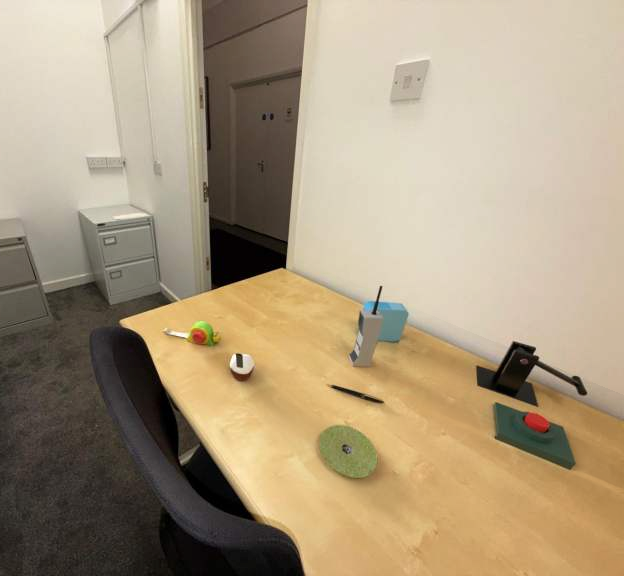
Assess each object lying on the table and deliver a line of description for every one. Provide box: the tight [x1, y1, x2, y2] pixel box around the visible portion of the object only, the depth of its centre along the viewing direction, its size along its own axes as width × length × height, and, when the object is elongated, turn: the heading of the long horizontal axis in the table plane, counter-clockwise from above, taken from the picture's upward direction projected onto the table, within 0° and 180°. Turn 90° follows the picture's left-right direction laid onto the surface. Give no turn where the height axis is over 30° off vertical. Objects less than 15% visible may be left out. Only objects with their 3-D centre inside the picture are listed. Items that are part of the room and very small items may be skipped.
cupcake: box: [229, 352, 255, 381], centre depth 77 cm, size 10×6×12 cm, turn 147°
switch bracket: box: [475, 340, 540, 408], centre depth 75 cm, size 12×9×13 cm
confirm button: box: [524, 412, 550, 433], centre depth 64 cm, size 4×4×2 cm
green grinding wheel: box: [318, 424, 378, 479], centre depth 61 cm, size 11×11×2 cm
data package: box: [357, 300, 410, 343], centre depth 94 cm, size 12×4×12 cm, turn 84°
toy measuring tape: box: [162, 320, 221, 346], centre depth 93 cm, size 6×19×7 cm, turn 71°
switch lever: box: [512, 346, 588, 397], centre depth 71 cm, size 14×6×2 cm, turn 57°
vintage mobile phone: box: [348, 285, 384, 368], centre depth 80 cm, size 4×5×25 cm
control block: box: [492, 401, 576, 471], centre depth 65 cm, size 12×10×4 cm
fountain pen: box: [326, 383, 386, 404], centre depth 75 cm, size 14×1×2 cm, turn 66°
